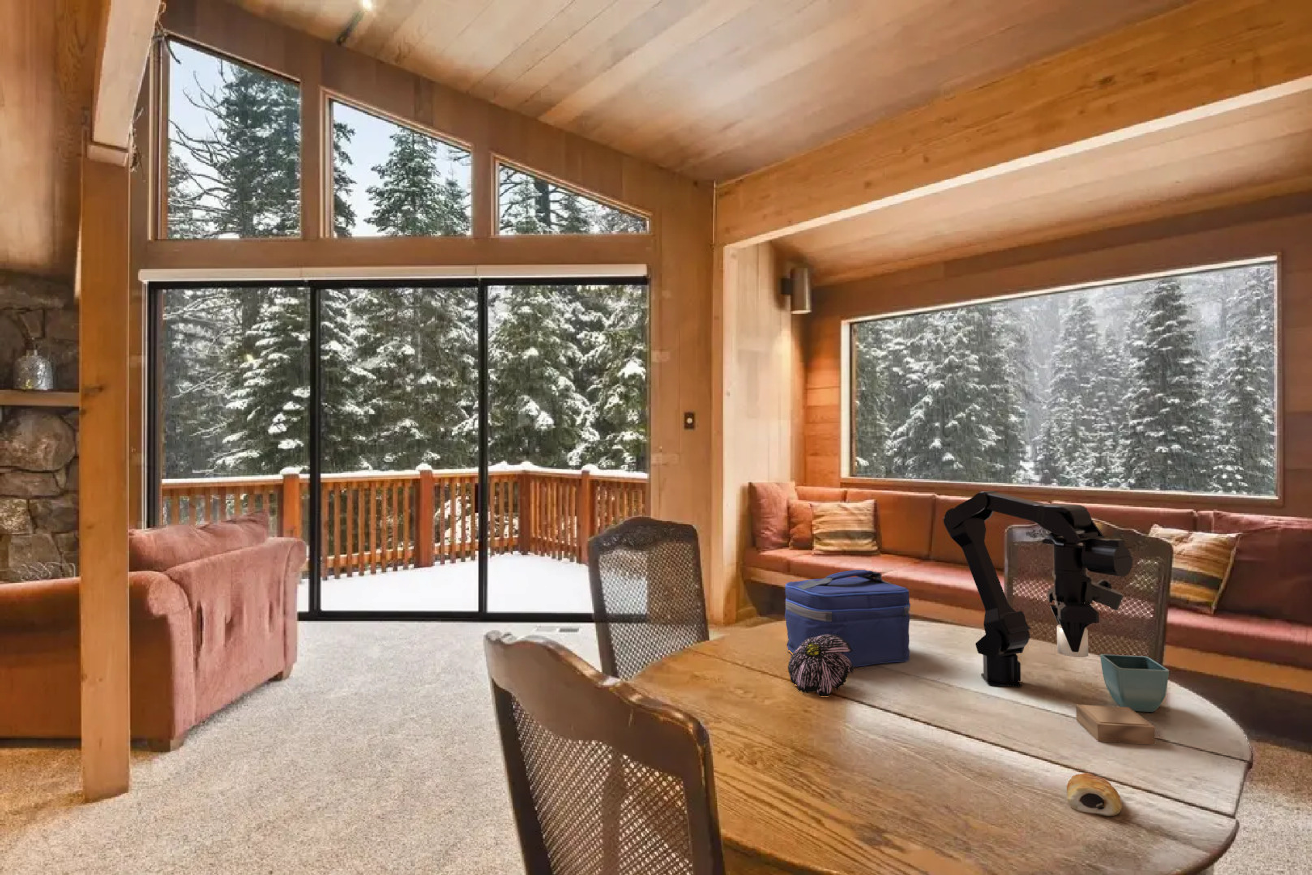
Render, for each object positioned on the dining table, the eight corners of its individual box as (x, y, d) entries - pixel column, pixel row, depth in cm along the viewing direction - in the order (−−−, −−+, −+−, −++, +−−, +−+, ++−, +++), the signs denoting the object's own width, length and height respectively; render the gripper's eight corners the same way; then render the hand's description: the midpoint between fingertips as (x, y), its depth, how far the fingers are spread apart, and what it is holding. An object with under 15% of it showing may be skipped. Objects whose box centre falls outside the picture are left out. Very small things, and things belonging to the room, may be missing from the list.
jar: (1059, 655, 134) (1058, 628, 134) (1055, 648, 139) (1054, 622, 139) (1090, 658, 132) (1089, 630, 132) (1085, 650, 137) (1084, 624, 137)
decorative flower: (768, 639, 151) (822, 613, 156) (773, 681, 155) (826, 653, 161) (810, 677, 138) (867, 646, 144) (814, 721, 143) (870, 689, 148)
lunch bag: (878, 636, 186) (877, 561, 186) (932, 660, 165) (930, 575, 166) (775, 649, 176) (774, 569, 176) (819, 675, 156) (817, 585, 156)
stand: (1097, 741, 120) (1097, 723, 120) (1076, 720, 129) (1076, 703, 129) (1155, 744, 118) (1154, 726, 118) (1129, 723, 127) (1129, 706, 127)
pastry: (1067, 782, 107) (1066, 757, 107) (1119, 793, 103) (1119, 768, 103) (1066, 810, 98) (1066, 783, 99) (1123, 823, 95) (1122, 795, 95)
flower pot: (1171, 717, 129) (1170, 670, 129) (1119, 714, 131) (1118, 667, 131) (1148, 700, 138) (1147, 655, 138) (1099, 697, 140) (1098, 653, 140)
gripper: (1130, 579, 124) (1133, 666, 123) (1107, 562, 141) (1109, 638, 141) (1059, 576, 128) (1062, 660, 128) (1045, 560, 145) (1047, 634, 145)
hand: (1072, 647), depth 135 cm, fingers closed on jar, 5 cm apart
